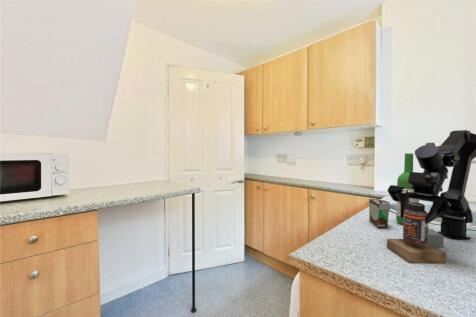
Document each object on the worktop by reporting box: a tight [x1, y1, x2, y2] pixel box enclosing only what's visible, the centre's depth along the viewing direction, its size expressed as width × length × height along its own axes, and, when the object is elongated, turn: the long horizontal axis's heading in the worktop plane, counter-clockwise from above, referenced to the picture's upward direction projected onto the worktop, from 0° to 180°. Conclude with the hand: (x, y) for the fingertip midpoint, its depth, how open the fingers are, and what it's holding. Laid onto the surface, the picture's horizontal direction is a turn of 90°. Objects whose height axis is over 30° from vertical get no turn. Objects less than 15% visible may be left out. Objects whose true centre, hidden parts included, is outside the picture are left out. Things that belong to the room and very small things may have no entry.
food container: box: [368, 198, 392, 230], centre depth 98 cm, size 12×6×10 cm, turn 168°
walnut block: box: [386, 238, 447, 264], centre depth 70 cm, size 10×10×3 cm
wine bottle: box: [395, 152, 420, 226], centre depth 99 cm, size 8×8×30 cm
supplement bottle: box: [402, 202, 429, 244], centre depth 70 cm, size 6×6×11 cm
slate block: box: [427, 228, 445, 248], centre depth 80 cm, size 7×7×4 cm
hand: (413, 219), depth 69 cm, fingers closed on supplement bottle, 6 cm apart
